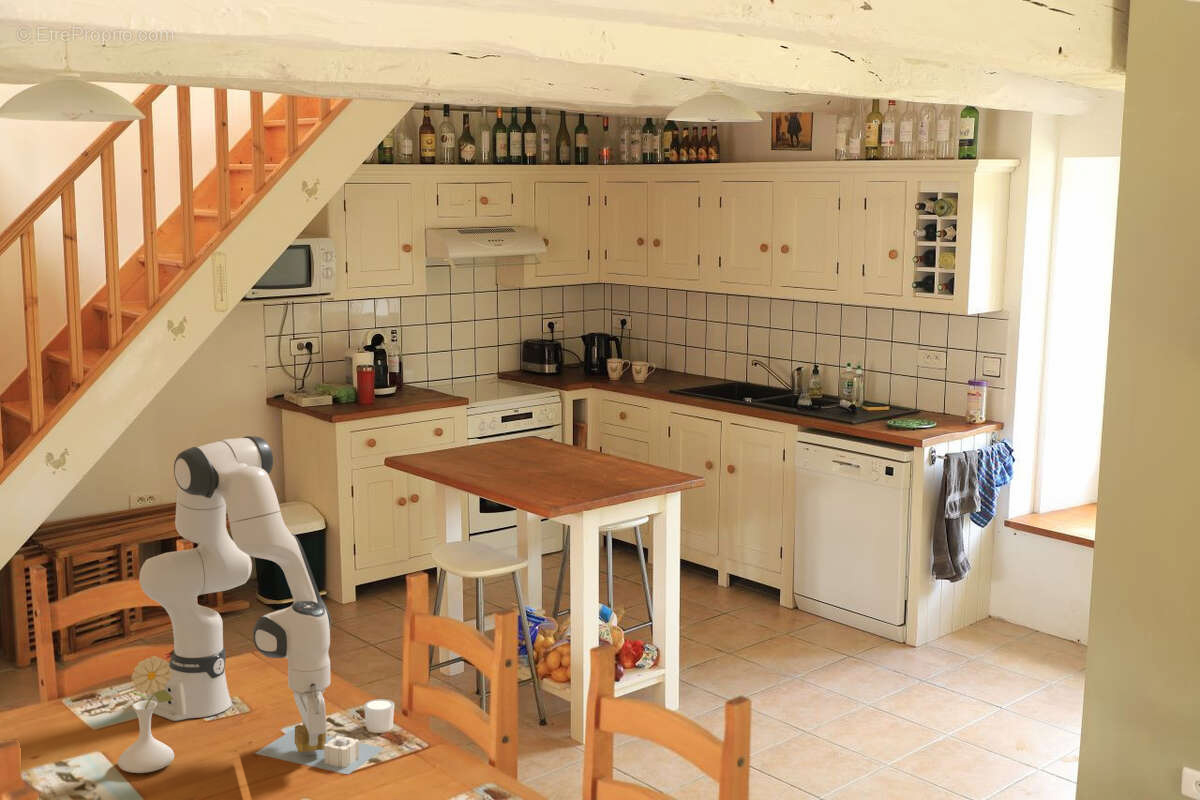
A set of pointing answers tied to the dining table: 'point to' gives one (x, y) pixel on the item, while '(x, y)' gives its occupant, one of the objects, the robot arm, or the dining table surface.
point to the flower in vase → (148, 718)
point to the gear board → (314, 760)
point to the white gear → (341, 752)
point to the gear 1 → (302, 739)
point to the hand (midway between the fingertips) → (310, 737)
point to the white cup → (379, 715)
